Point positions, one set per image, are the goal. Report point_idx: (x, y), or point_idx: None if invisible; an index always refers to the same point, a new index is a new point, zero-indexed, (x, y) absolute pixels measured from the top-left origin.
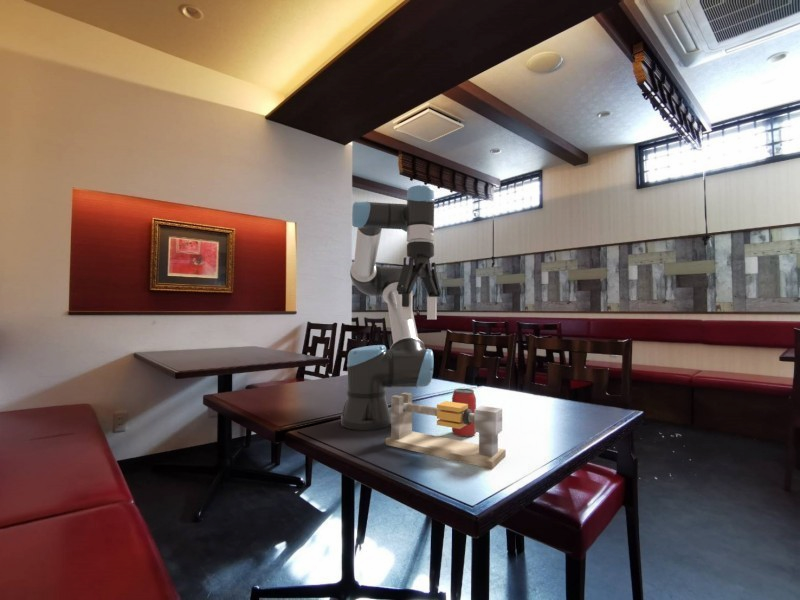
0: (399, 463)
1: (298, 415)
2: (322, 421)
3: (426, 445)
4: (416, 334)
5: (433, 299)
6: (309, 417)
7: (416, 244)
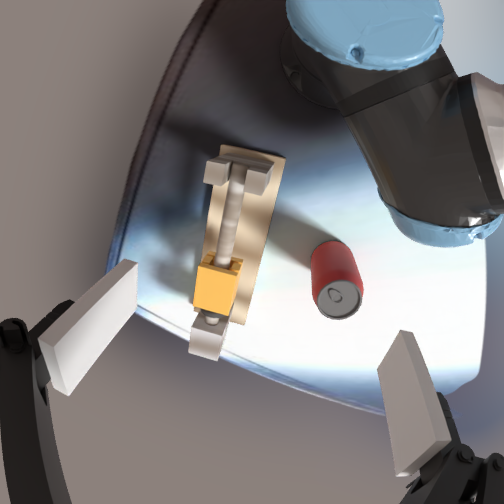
0: (161, 195)
1: None
2: None
3: (215, 221)
4: None
5: (403, 453)
6: None
7: None
